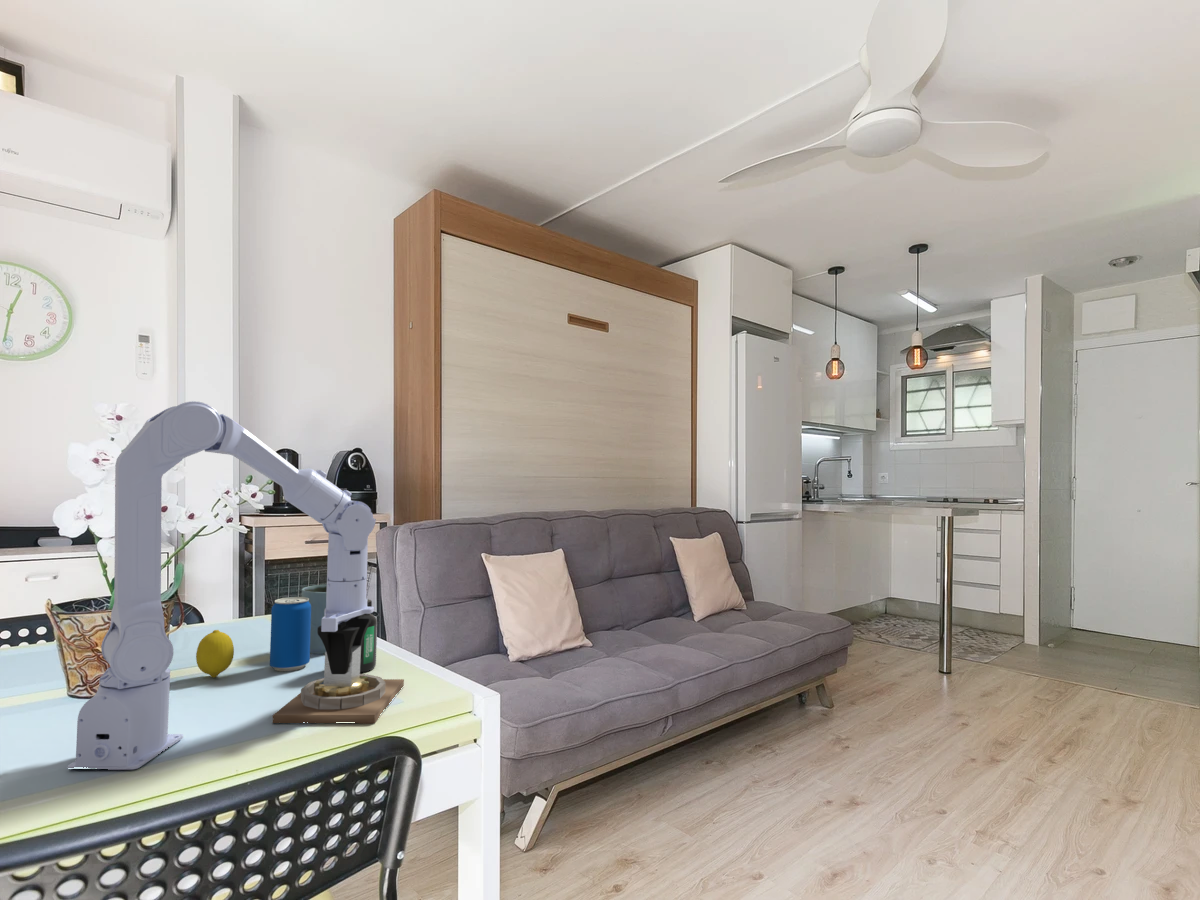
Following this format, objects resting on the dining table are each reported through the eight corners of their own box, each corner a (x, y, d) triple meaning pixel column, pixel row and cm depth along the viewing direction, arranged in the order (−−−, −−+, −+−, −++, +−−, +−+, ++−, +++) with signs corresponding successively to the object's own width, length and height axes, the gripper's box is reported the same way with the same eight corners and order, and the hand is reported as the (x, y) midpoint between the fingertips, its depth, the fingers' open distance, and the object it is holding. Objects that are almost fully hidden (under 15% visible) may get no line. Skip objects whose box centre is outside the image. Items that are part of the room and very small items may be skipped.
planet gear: (359, 699, 96) (361, 656, 96) (305, 698, 95) (307, 655, 96) (375, 682, 103) (377, 642, 104) (325, 681, 103) (326, 641, 103)
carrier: (374, 723, 92) (375, 703, 92) (272, 723, 91) (273, 704, 91) (403, 686, 108) (404, 670, 108) (317, 686, 107) (317, 670, 107)
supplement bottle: (379, 671, 116) (380, 603, 116) (337, 676, 112) (339, 606, 113) (372, 661, 122) (374, 596, 122) (332, 666, 118) (334, 599, 119)
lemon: (215, 683, 108) (217, 634, 108) (187, 681, 109) (189, 632, 109) (240, 673, 113) (242, 627, 114) (213, 671, 114) (214, 625, 115)
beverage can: (310, 660, 122) (312, 595, 122) (308, 670, 116) (310, 602, 116) (271, 663, 119) (273, 597, 120) (267, 674, 113) (269, 604, 114)
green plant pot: (292, 647, 131) (294, 586, 131) (343, 639, 138) (345, 581, 138) (310, 658, 123) (312, 594, 124) (363, 649, 130) (364, 588, 131)
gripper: (358, 587, 93) (355, 684, 92) (386, 572, 107) (384, 655, 107) (307, 586, 93) (304, 684, 92) (343, 571, 107) (340, 655, 107)
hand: (344, 669), depth 99 cm, fingers closed on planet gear, 4 cm apart
